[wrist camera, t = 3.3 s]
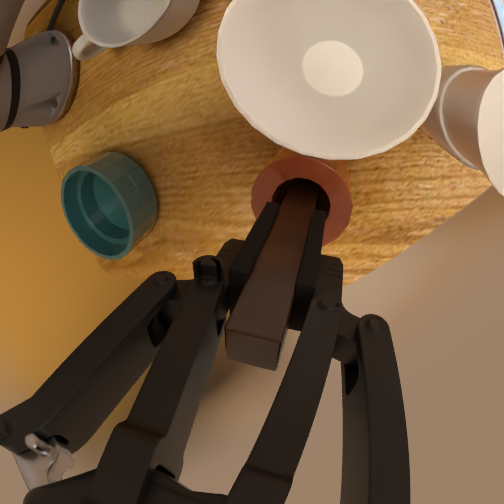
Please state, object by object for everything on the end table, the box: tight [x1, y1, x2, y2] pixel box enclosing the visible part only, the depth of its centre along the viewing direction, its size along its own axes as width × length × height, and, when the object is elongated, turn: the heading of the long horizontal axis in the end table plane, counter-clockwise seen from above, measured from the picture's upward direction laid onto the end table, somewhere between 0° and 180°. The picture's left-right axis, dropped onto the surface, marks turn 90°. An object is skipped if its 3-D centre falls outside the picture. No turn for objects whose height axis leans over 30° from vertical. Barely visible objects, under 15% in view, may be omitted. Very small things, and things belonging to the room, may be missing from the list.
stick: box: [224, 178, 320, 371], centre depth 17 cm, size 2×2×20 cm
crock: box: [251, 146, 353, 246], centre depth 23 cm, size 7×7×9 cm
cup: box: [216, 0, 442, 160], centre depth 15 cm, size 10×10×14 cm
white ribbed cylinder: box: [419, 65, 504, 196], centre depth 13 cm, size 7×7×15 cm
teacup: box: [72, 0, 200, 60], centre depth 17 cm, size 14×11×8 cm
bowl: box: [61, 152, 158, 260], centre depth 32 cm, size 13×13×6 cm
